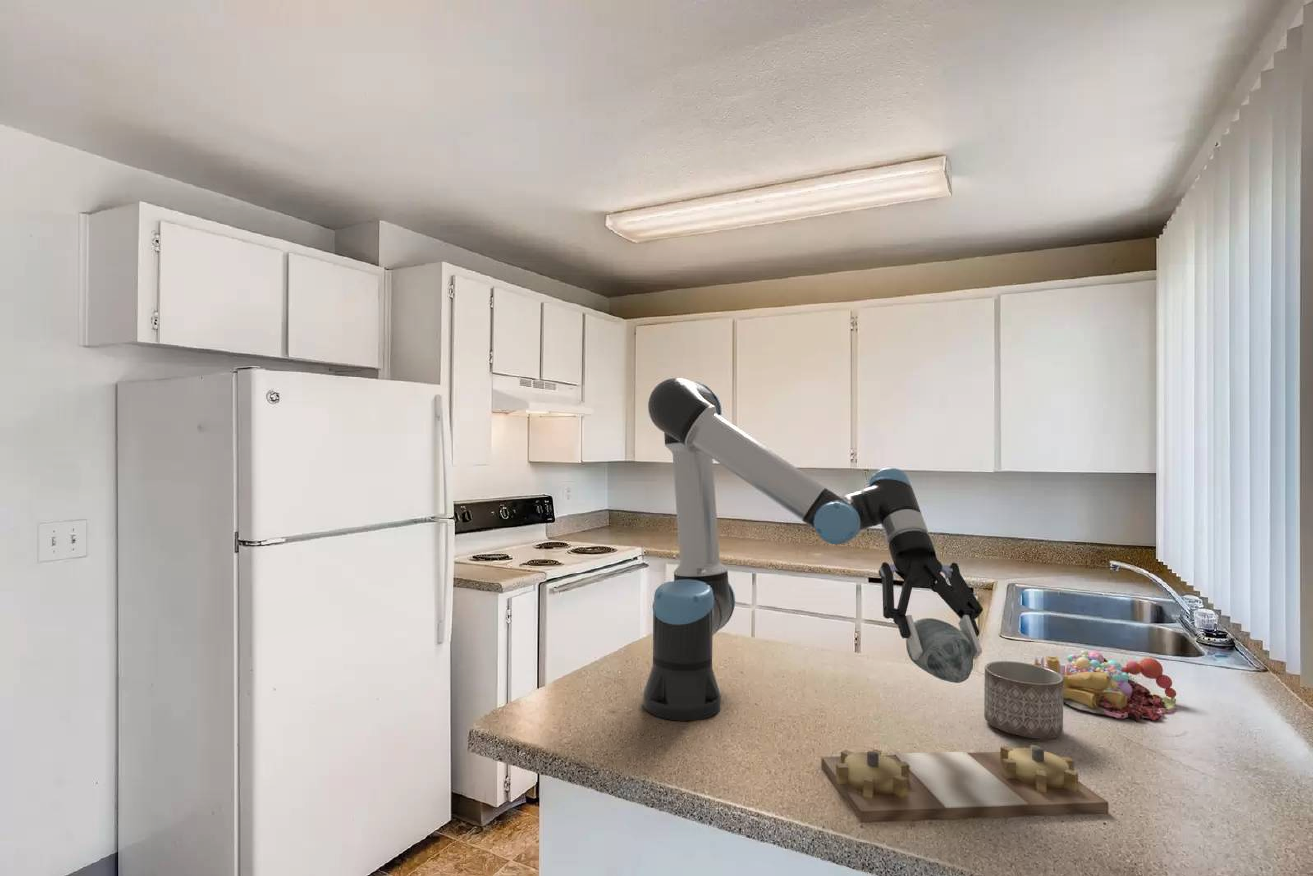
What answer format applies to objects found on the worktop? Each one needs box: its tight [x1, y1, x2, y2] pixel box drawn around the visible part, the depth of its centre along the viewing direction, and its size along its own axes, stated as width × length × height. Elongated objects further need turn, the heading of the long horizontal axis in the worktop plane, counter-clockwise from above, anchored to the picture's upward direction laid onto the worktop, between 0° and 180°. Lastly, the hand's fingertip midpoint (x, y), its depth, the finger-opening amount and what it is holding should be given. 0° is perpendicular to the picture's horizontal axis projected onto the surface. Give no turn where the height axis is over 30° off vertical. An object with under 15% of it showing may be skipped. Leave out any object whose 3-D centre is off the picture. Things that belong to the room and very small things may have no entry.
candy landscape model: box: [1033, 650, 1177, 722], centre depth 140 cm, size 25×24×9 cm
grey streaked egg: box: [905, 617, 974, 684], centre depth 112 cm, size 14×10×10 cm
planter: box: [983, 660, 1064, 739], centre depth 124 cm, size 13×13×10 cm
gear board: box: [820, 744, 1109, 823], centre depth 101 cm, size 37×16×6 cm, turn 95°
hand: (947, 655), depth 109 cm, fingers closed on grey streaked egg, 9 cm apart
